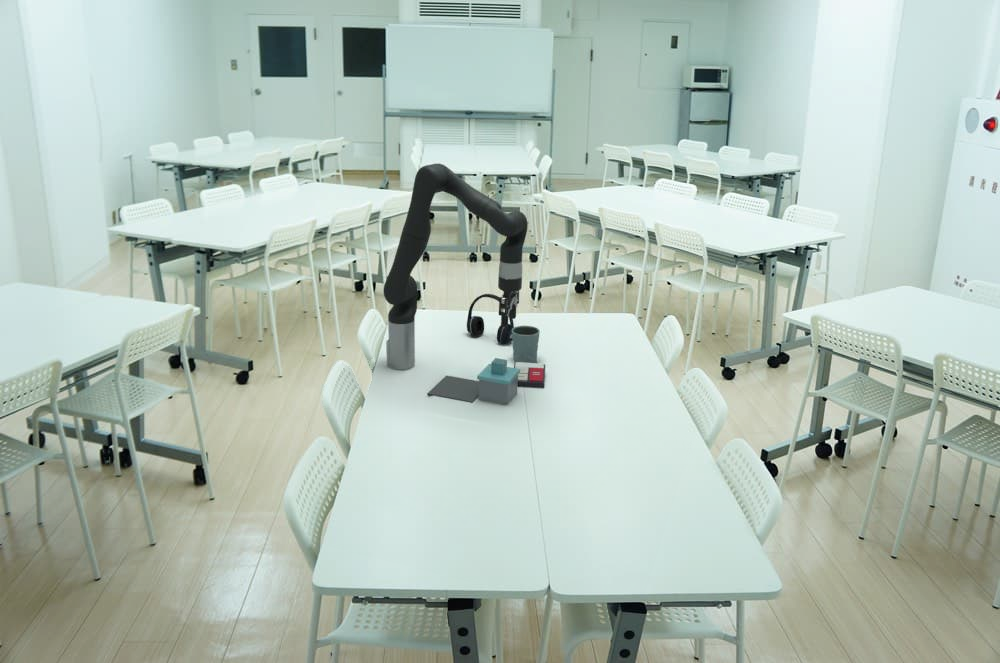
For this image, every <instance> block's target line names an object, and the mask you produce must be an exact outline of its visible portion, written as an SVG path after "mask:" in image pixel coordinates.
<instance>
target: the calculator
mask: <svg viewBox="0 0 1000 663" xmlns="http://www.w3.org/2000/svg"><path fill="white" fill-rule="evenodd" d="M513 368H517V369H520V373H519V374H518V387H519V388H534V389H535V388H536V389H544V388H545V377H546V364H545V363H541V362H540V363H539V362H538V363H537V362H535V363H524V362H514V364H513ZM518 387H517V388H518Z"/></svg>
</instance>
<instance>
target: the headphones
mask: <svg viewBox="0 0 1000 663" xmlns="http://www.w3.org/2000/svg"><path fill="white" fill-rule="evenodd" d="M500 297H501V296H498V295H495V294H494V293H493V294H491V293H483V294H481V295H479V296H477V297H476V298H475V299H474V300H473V301H472V302H471V304H470V306H469V310H468V315H467V321H466V330H467V332H468V333H469V334H470V336H472V337H480V336H481V335H483V333H484V332H485V321H484V319H483V317H482V316H479V315H474V316H473V315H472V314H473V309H474V307H475V304H476V303H477V302H478V301H479V300H481V299H482V298H490V299H492V300H495V301H497V302H499V298H500ZM508 321H509V323H508V326H507V327H502V326H501V324H500V325H499V327H498V328H497V333H496V341H497V343H500V344H502V345H506V344H508V343H509V344H510V343H513V342H512V329H513V328H514V327H515V324H514V319H512V318H509V315H508Z"/></svg>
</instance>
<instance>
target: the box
mask: <svg viewBox="0 0 1000 663" xmlns="http://www.w3.org/2000/svg"><path fill="white" fill-rule="evenodd" d="M478 381H479V396H478V400H479V401H483V402H488V403H489V402H490V403H494V404H499V405H500V404H501V405H505V406H508V405H509V404H510V403H511V401H513V399H514V398H515V396H517V394H518V375H517V376H516V378H515V379H514V380H513V381H512V382H511V383H510V384H509V385H507V384H501V383H496V382H490V381H484V380H479V379H478Z"/></svg>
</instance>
